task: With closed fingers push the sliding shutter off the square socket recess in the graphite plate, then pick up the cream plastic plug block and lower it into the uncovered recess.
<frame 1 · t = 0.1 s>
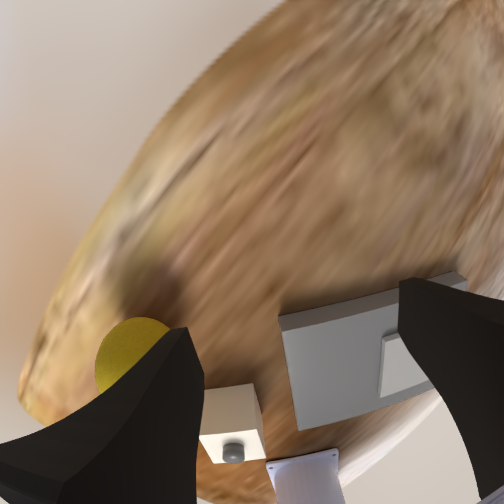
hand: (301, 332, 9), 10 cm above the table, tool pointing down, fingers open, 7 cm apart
plug: (233, 403, 23), on the table
shutter: (420, 366, 19), point 3 cm above the table, slide at 0.0 cm
lemon: (154, 329, 21), on the table
socket plate: (376, 350, 22), on the table
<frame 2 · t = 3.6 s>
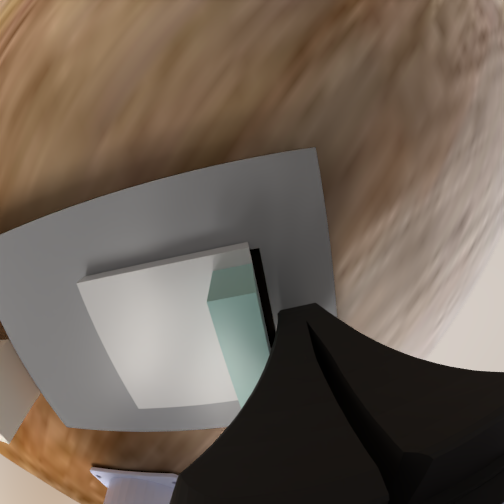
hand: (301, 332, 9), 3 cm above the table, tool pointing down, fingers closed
plug: (7, 366, 13), on the table
shutter: (177, 359, 9), point 3 cm above the table, slide at 0.6 cm, touching gripper
socket plate: (150, 316, 12), on the table
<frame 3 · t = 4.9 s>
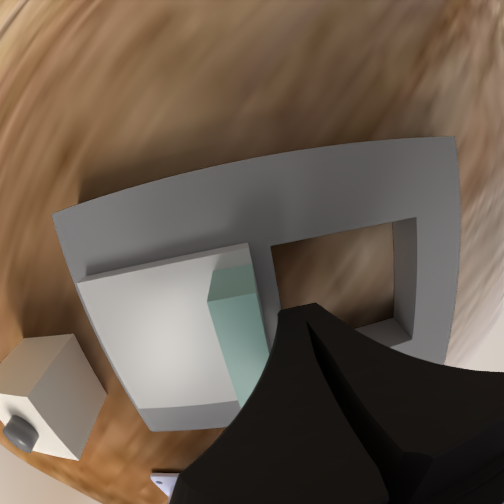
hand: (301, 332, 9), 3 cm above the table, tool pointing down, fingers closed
plug: (63, 366, 13), on the table
shutter: (177, 359, 9), point 3 cm above the table, slide at 6.4 cm, touching gripper
socket plate: (281, 292, 12), on the table
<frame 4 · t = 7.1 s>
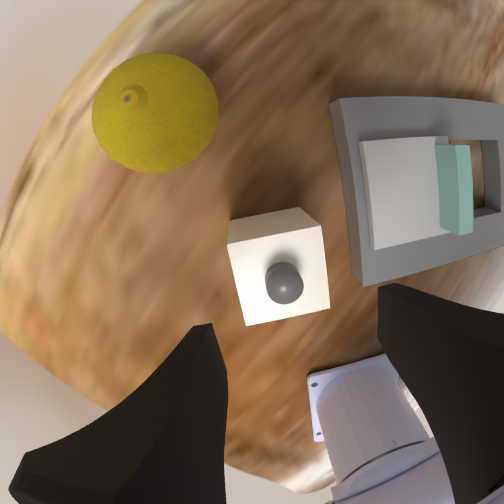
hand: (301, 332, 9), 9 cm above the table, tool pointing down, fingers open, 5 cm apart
plug: (270, 246, 18), on the table
shutter: (421, 191, 14), point 3 cm above the table, slide at 6.4 cm
lemon: (176, 123, 16), on the table
socket plate: (438, 178, 17), on the table
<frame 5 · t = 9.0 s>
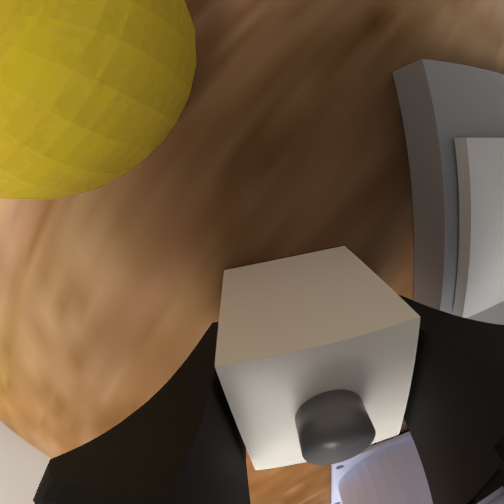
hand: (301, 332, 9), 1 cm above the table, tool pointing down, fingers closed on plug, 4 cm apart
plug: (294, 311, 11), on the table, touching gripper
lemon: (129, 99, 8), on the table
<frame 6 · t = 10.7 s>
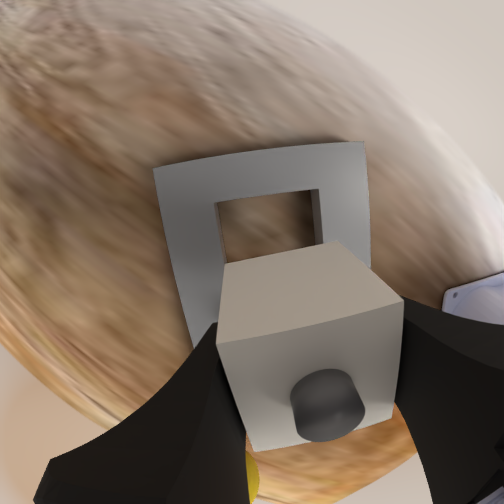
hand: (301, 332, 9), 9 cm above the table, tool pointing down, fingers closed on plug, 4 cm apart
plug: (290, 303, 11), point 7 cm above the table, touching gripper
lemon: (227, 442, 24), on the table
socket plate: (274, 275, 18), on the table
when the fingers open (3 cm above the table, at t = 12.4 s): plug stays where it is, resting in socket plate.
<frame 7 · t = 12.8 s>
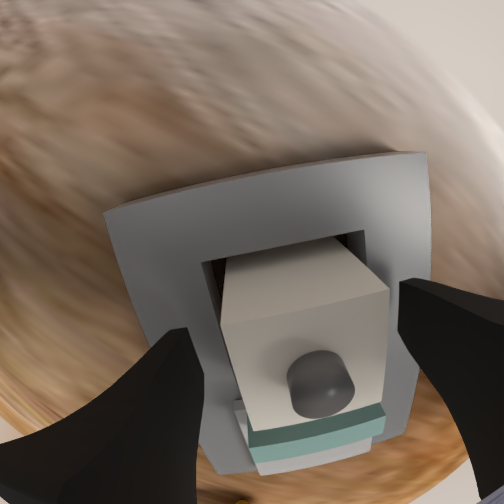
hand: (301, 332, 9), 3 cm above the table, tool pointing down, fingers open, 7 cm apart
plug: (288, 293, 12), resting in socket plate
shutter: (316, 448, 11), point 3 cm above the table, slide at 6.4 cm
lemon: (242, 498, 18), on the table
socket plate: (295, 342, 13), on the table
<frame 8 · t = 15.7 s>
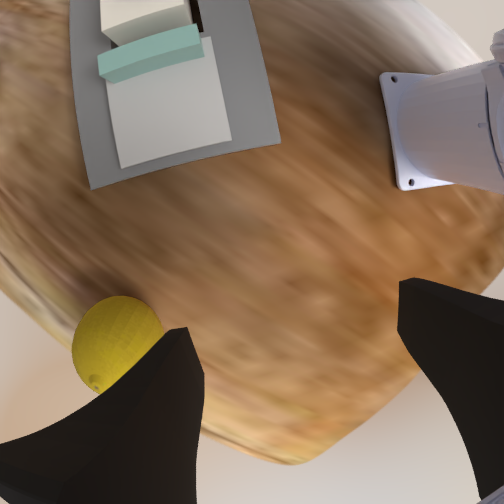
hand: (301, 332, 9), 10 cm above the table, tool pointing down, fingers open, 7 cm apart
plug: (160, 22, 14), resting in socket plate
shutter: (159, 96, 13), point 3 cm above the table, slide at 6.4 cm
lemon: (138, 311, 20), on the table
socket plate: (163, 52, 15), on the table
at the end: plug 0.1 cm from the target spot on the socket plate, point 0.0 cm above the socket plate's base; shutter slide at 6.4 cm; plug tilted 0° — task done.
